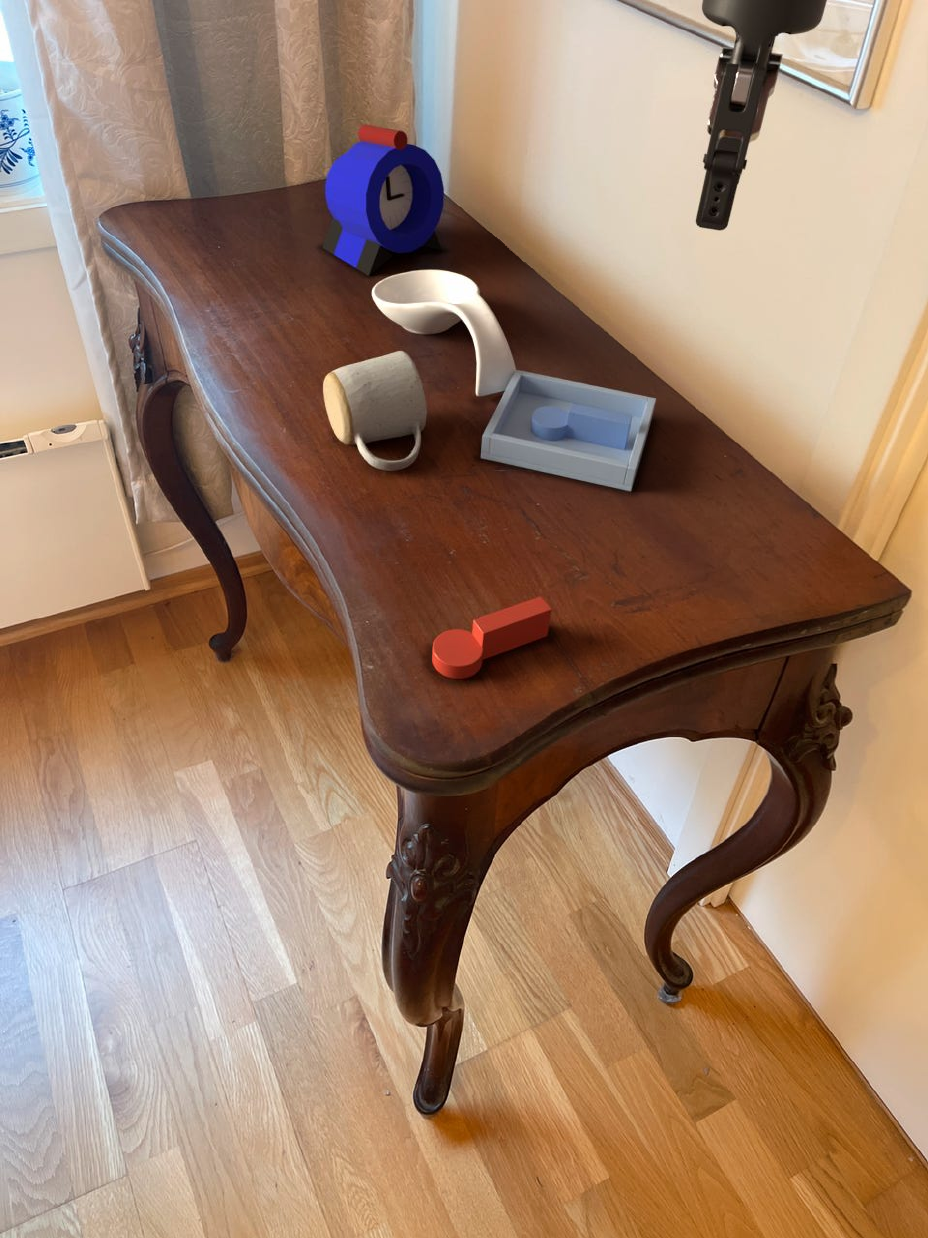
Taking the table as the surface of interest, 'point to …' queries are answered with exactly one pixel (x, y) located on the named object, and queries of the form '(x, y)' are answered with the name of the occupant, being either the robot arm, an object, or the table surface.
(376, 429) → the ceramic mug
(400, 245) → the alarm clock
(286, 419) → the table surface
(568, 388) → the blue tray
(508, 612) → the red disc with bar
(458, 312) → the spoon rest
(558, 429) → the blue spoon
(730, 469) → the table surface
